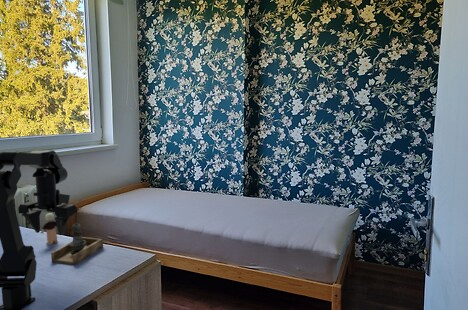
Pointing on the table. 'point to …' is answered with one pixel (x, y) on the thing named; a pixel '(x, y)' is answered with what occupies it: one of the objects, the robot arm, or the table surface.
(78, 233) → the grey tiered stone figure
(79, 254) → the open-ended wooden tray
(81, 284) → the table surface
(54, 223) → the grandmother figurine
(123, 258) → the table surface
